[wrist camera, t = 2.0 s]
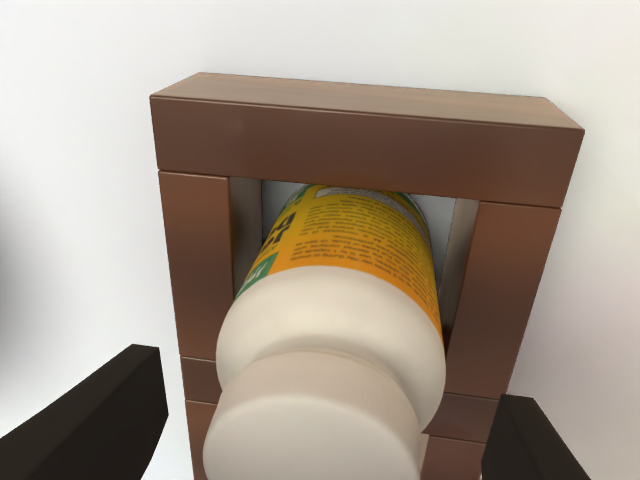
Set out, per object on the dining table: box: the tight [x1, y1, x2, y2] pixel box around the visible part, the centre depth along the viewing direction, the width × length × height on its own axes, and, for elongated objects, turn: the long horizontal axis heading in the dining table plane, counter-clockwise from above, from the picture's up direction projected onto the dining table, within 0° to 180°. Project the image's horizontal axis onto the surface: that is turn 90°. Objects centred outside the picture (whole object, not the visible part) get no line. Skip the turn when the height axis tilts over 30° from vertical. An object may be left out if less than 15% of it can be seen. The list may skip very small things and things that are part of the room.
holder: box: [149, 72, 585, 480], centre depth 18 cm, size 19×10×4 cm, turn 177°
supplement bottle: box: [203, 184, 446, 480], centre depth 13 cm, size 5×5×10 cm
